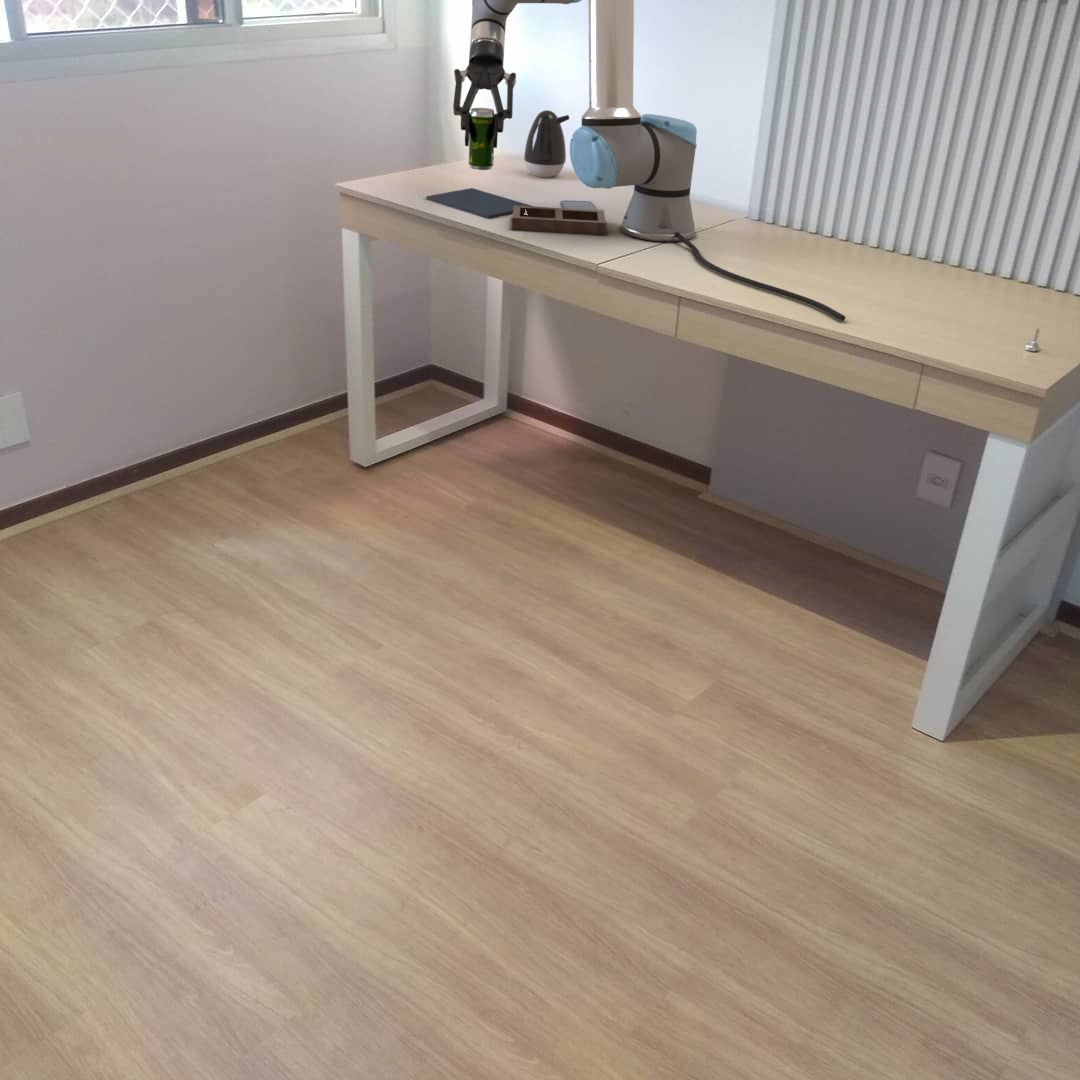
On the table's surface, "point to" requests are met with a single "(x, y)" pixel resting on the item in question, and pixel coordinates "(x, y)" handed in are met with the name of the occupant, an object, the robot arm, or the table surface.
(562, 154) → the pump dispenser
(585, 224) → the can stand
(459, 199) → the slate mat
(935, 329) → the table surface
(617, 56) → the robot arm
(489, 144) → the beer can
